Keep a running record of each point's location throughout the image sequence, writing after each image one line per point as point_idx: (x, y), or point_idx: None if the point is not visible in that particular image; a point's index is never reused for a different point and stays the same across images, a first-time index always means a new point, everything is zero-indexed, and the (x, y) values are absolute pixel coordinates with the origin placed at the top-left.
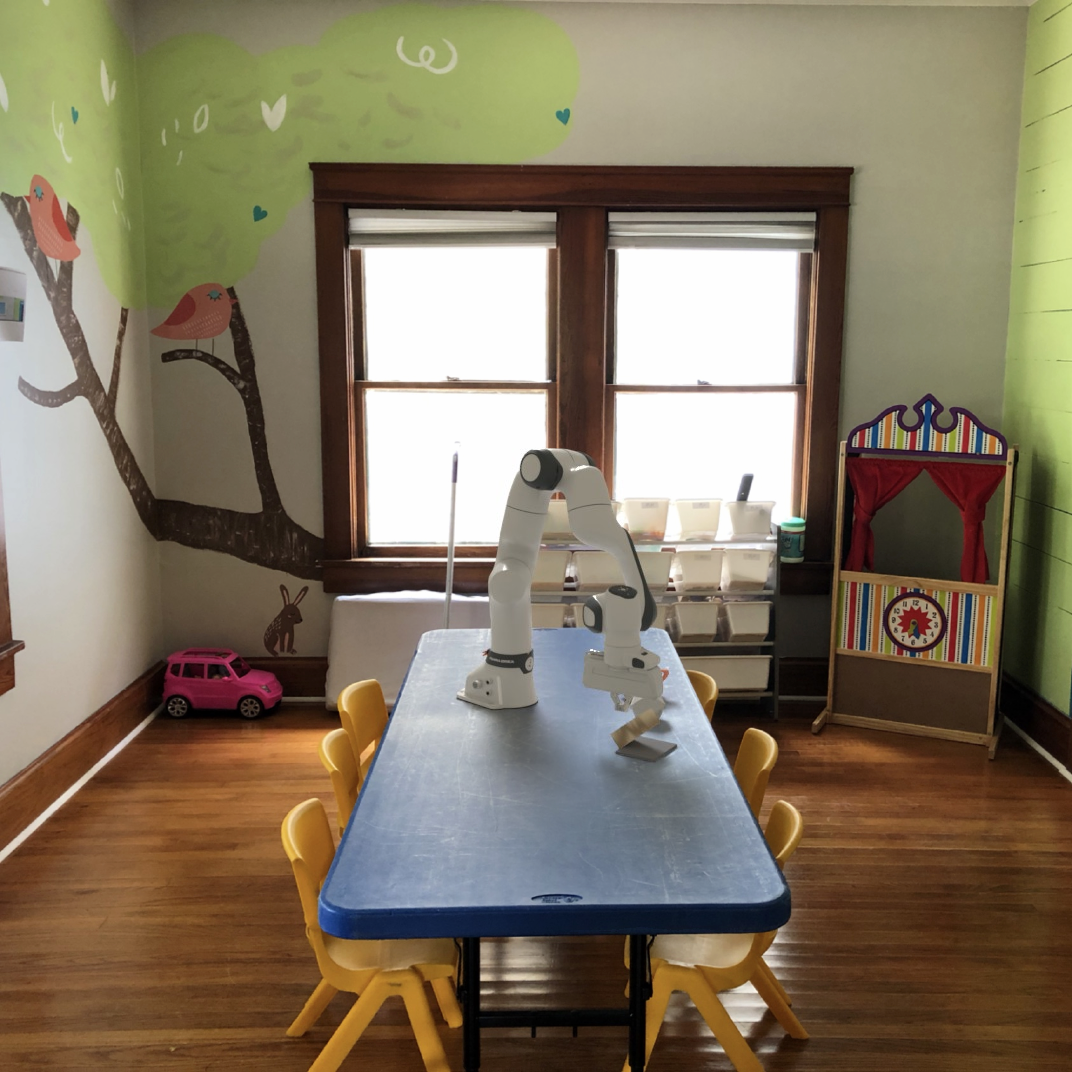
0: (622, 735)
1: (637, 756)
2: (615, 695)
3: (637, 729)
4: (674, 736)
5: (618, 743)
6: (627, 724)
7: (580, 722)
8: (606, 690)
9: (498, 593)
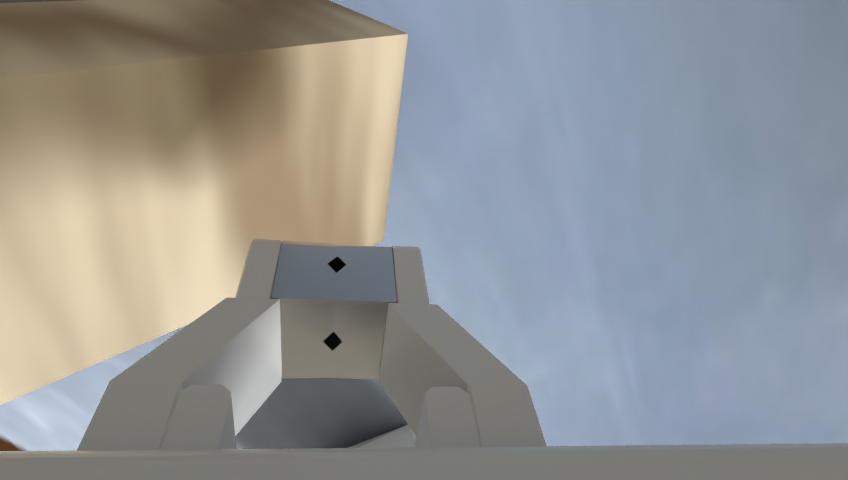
0: (260, 20)
1: None
2: (428, 413)
3: (6, 24)
4: (123, 358)
5: (314, 3)
6: (156, 53)
7: (700, 309)
8: (645, 457)
9: None
